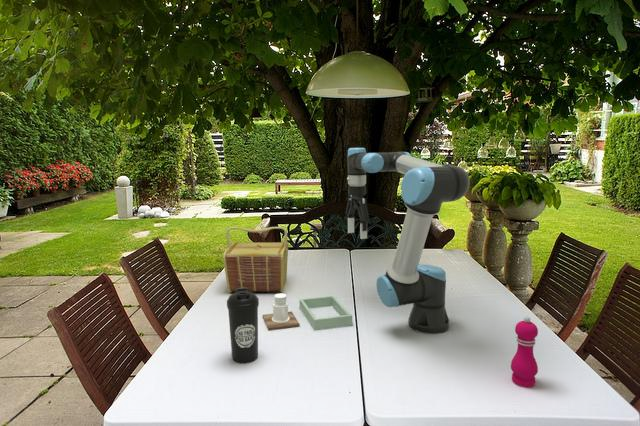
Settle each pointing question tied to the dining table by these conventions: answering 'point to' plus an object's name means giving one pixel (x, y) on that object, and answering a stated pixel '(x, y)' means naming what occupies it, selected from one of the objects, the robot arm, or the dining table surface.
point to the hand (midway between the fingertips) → (357, 235)
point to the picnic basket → (256, 263)
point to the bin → (327, 322)
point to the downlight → (280, 309)
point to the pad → (276, 326)
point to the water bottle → (243, 325)
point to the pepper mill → (525, 354)
